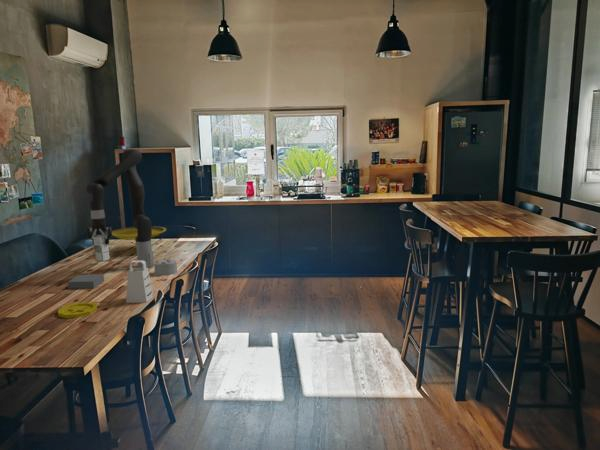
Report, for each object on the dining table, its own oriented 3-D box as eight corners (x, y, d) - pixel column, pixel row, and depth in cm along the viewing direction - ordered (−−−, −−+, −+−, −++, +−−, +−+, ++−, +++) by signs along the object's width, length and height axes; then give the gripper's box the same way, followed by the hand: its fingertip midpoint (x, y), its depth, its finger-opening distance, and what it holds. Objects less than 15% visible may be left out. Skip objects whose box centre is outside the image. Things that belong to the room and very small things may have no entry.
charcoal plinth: (104, 280, 274) (103, 274, 273) (93, 288, 260) (93, 281, 259) (80, 281, 274) (79, 274, 273) (68, 288, 260) (68, 281, 259)
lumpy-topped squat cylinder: (156, 271, 292) (155, 258, 291) (177, 270, 295) (176, 256, 293) (154, 276, 282) (153, 262, 281) (176, 274, 285) (175, 260, 283)
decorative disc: (57, 321, 213) (57, 317, 213) (59, 309, 229) (59, 305, 229) (97, 315, 220) (97, 311, 220) (96, 303, 236) (96, 300, 236)
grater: (133, 295, 247) (131, 258, 243) (153, 295, 246) (151, 258, 243) (126, 302, 236) (122, 264, 233) (146, 302, 236) (143, 264, 232)
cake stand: (179, 248, 356) (178, 228, 353) (135, 259, 322) (133, 238, 320) (143, 242, 377) (142, 224, 374) (99, 253, 344) (97, 233, 341)
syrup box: (110, 258, 283) (107, 235, 280) (103, 261, 277) (100, 237, 275) (102, 258, 285) (99, 234, 282) (95, 260, 279) (92, 237, 276)
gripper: (112, 215, 280) (115, 243, 283) (88, 216, 280) (91, 243, 283) (107, 218, 272) (110, 245, 276) (83, 218, 272) (86, 246, 276)
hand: (101, 244), depth 279 cm, fingers closed on syrup box, 6 cm apart
